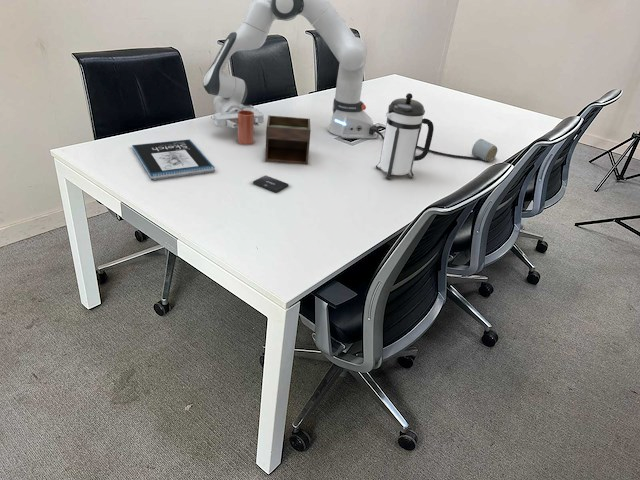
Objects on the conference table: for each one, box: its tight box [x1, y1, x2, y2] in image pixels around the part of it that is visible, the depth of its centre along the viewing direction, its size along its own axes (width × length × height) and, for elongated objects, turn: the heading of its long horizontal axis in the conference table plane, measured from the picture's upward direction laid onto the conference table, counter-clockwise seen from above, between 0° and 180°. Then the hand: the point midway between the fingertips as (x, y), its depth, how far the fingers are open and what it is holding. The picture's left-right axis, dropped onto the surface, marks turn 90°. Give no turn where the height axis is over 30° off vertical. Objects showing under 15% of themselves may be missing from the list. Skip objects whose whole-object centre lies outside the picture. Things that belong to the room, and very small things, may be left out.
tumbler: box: [237, 110, 255, 146], centre depth 185 cm, size 6×6×12 cm
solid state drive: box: [252, 174, 289, 193], centre depth 157 cm, size 7×10×1 cm
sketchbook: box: [131, 139, 216, 181], centre depth 166 cm, size 22×30×2 cm
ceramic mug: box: [471, 138, 498, 162], centre depth 196 cm, size 11×8×8 cm
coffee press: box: [375, 92, 435, 181], centre depth 168 cm, size 17×16×30 cm
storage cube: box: [264, 114, 312, 165], centre depth 176 cm, size 16×13×14 cm
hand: (246, 124), depth 184 cm, fingers open, 8 cm apart
